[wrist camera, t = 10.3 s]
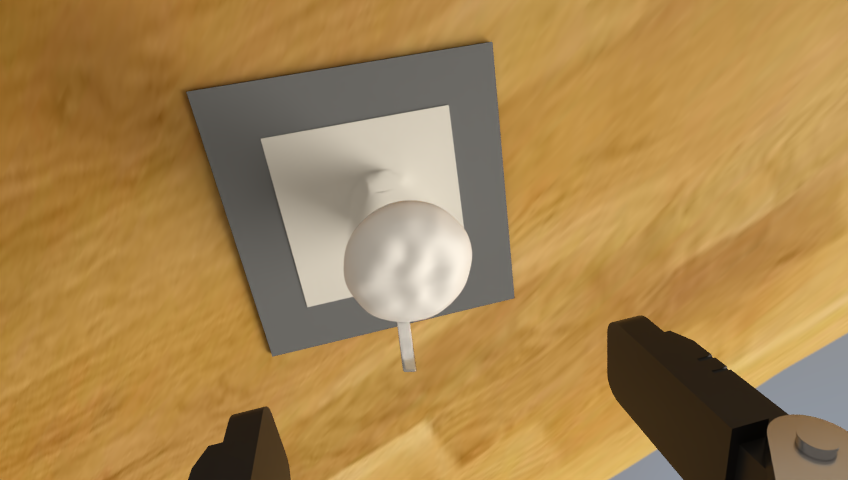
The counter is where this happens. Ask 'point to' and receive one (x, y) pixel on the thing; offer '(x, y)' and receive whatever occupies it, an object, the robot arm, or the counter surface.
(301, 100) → the pad
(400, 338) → the milkshake
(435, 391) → the counter surface
